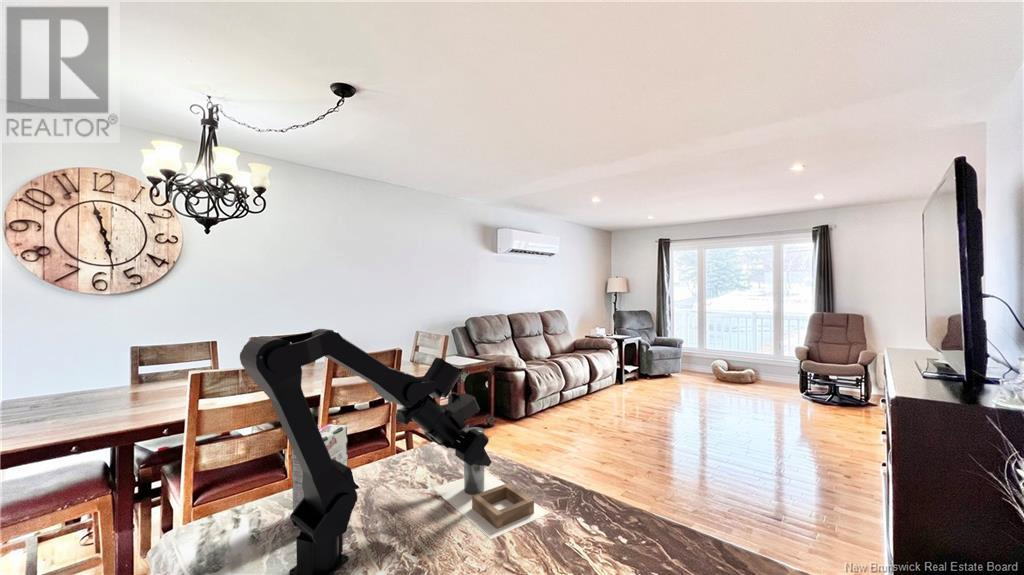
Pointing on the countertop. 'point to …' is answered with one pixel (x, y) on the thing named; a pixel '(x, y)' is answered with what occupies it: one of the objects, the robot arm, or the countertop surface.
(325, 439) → the candy bar box
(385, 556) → the countertop surface
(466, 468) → the grey tall rounded cylinder
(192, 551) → the countertop surface
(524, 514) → the square wooden frame
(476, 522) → the board
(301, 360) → the robot arm
